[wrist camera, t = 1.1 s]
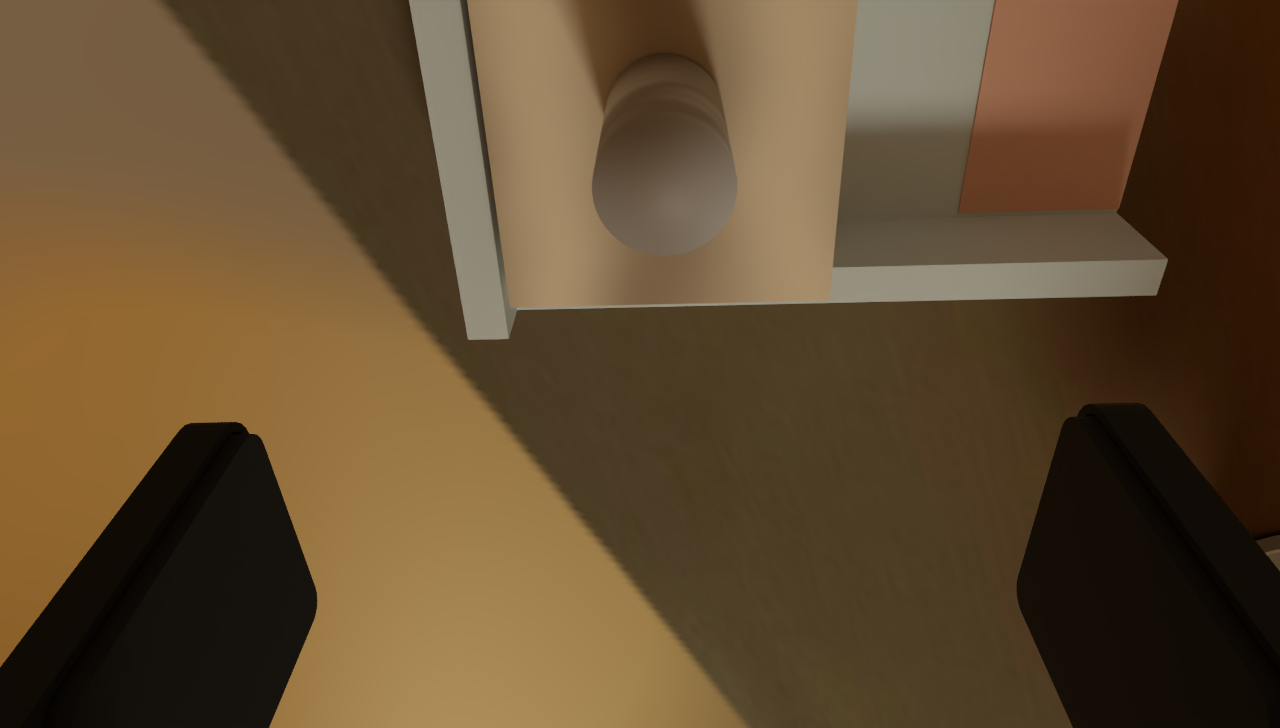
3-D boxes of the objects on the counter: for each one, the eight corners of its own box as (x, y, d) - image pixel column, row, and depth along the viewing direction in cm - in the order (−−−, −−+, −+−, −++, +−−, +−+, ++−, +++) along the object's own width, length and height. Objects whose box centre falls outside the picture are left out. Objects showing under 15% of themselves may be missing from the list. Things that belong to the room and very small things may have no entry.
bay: (1231, -259, 25) (1402, -277, 20) (1096, 235, 34) (1185, 324, 28) (434, -221, 26) (369, -228, 21) (500, 250, 35) (468, 339, 29)
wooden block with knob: (824, -161, 26) (935, -136, 15) (799, 210, 32) (865, 406, 22) (496, -146, 26) (384, -112, 16) (537, 217, 33) (478, 413, 22)
